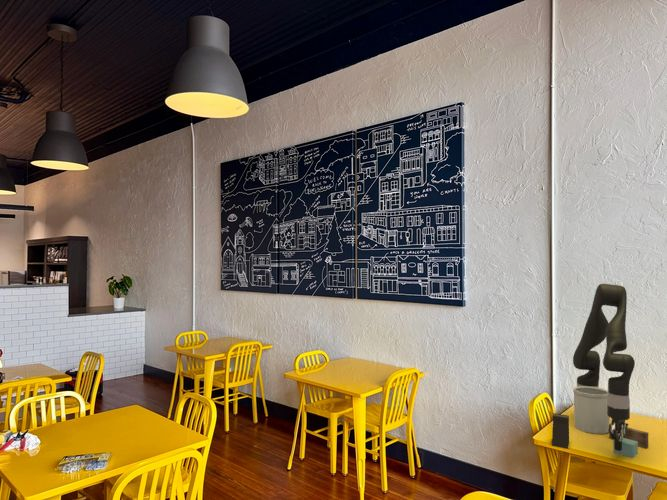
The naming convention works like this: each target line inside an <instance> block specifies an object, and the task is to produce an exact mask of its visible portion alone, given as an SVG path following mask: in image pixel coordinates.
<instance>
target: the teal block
mask: <svg viewBox="0 0 667 500" xmlns="http://www.w3.org/2000/svg"><path fill="white" fill-rule="evenodd" d="M612 440H613V439H612ZM612 444H613V454H617V455H621V456H624V457H627V458H630V459H631V458H632V459H634V458H635V457H636V456H637V455H639V453H638V451H639V447H638V442H637V441H633V440H629V439H625V438H623V441H622V450H621V451H618V450H615V449H614V440H613V443H612Z"/></svg>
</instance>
